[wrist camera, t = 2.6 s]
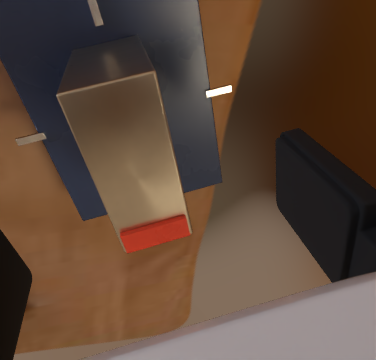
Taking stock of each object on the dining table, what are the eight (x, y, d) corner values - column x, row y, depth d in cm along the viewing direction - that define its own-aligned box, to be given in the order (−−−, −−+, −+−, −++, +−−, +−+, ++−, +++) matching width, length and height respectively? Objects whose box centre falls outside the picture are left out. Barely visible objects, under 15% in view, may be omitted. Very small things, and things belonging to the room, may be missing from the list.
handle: (71, 49, 14) (53, 97, 9) (137, 34, 14) (156, 72, 9) (118, 176, 18) (124, 258, 13) (169, 162, 18) (194, 237, 13)
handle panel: (-32, 0, 15) (-60, 7, 12) (199, -50, 15) (218, -53, 13) (69, 197, 22) (65, 228, 19) (224, 155, 22) (239, 179, 20)
